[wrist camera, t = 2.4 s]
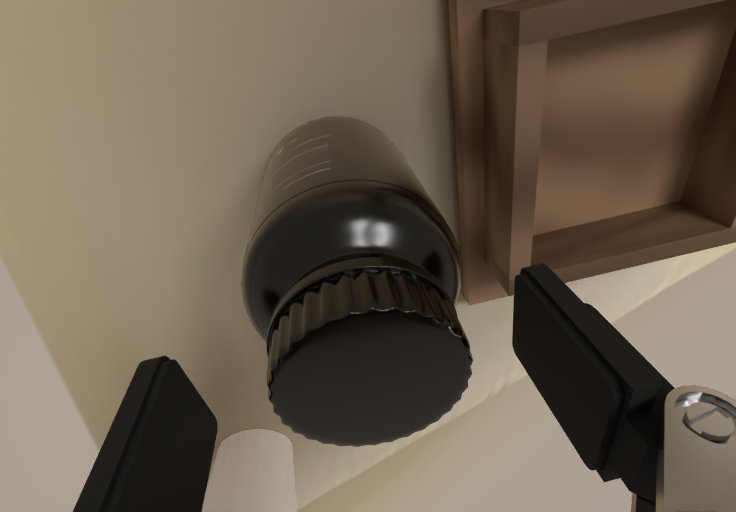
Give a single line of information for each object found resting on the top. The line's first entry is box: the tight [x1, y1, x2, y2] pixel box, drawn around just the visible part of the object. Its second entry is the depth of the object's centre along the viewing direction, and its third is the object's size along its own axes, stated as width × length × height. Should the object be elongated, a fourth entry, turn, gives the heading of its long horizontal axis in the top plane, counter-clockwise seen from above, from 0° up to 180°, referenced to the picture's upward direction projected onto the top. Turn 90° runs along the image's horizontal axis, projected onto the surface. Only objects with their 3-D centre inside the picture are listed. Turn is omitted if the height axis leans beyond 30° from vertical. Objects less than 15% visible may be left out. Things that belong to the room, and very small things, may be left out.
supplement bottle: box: [241, 117, 473, 447], centre depth 14 cm, size 7×7×12 cm
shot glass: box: [202, 429, 297, 512], centre depth 27 cm, size 7×7×7 cm
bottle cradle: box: [448, 0, 736, 305], centre depth 17 cm, size 18×14×4 cm
